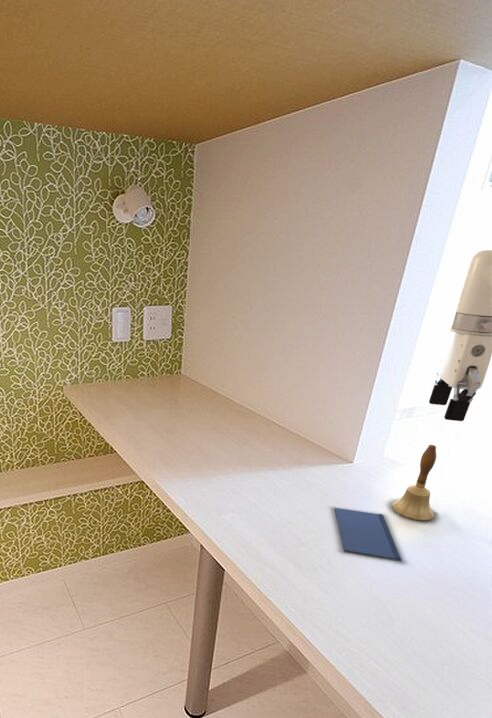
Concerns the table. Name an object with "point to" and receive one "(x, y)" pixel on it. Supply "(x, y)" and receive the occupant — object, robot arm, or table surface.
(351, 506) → the table surface
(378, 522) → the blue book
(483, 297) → the robot arm
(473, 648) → the table surface
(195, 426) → the table surface
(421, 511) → the hand bell
